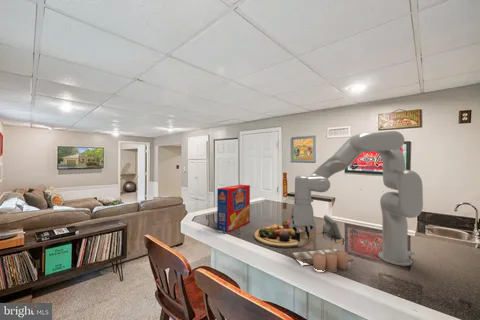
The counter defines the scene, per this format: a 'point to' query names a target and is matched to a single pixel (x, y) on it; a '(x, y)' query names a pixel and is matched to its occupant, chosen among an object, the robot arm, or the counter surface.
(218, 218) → the pasta box
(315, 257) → the tan short cylinder
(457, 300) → the counter surface
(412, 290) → the counter surface
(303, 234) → the beige block
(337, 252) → the tan short cylinder
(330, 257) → the tan short cylinder
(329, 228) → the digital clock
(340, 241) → the eyeglasses
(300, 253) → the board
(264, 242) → the wooden plate with food
